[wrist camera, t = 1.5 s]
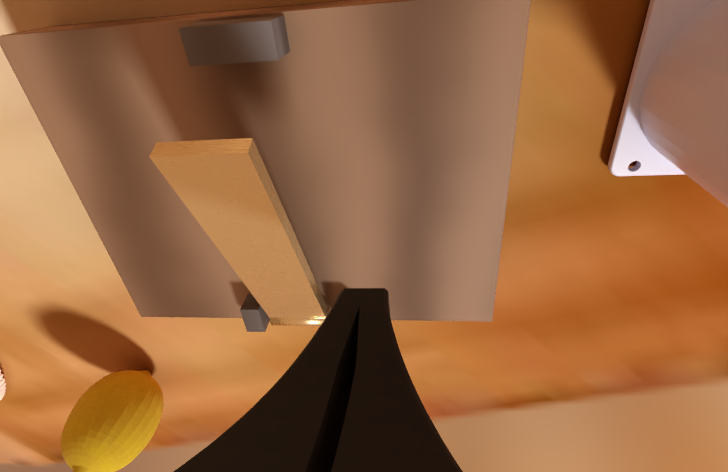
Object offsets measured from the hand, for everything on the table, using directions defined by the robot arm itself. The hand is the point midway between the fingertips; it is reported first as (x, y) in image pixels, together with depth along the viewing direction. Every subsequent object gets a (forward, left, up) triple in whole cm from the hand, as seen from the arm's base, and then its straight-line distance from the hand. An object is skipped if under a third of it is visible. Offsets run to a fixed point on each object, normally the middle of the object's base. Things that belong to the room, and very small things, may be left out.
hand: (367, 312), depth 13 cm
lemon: (+20, +16, -10) cm, 27 cm away
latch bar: (+5, +1, -4) cm, 6 cm away
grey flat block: (+5, 0, -10) cm, 11 cm away
